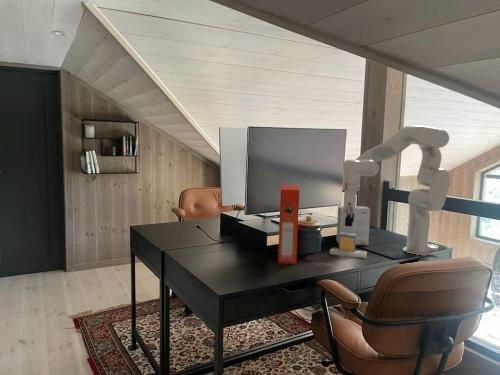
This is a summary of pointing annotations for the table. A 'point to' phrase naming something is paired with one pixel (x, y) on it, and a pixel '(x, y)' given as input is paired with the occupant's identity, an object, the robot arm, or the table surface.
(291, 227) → the file binder
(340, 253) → the shelf board
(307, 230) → the canister
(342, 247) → the carton
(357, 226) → the hard drive box
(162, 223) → the table surface
